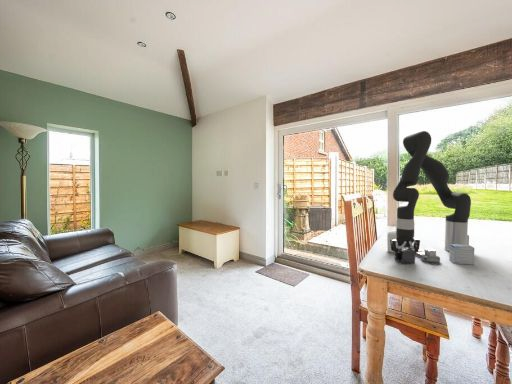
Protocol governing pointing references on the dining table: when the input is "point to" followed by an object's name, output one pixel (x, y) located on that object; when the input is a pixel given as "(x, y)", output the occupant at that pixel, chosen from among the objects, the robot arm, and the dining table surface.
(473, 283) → the dining table surface
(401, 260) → the dark grey metal cube
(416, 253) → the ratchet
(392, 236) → the photo printer
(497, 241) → the dining table surface
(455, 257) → the medicine box
